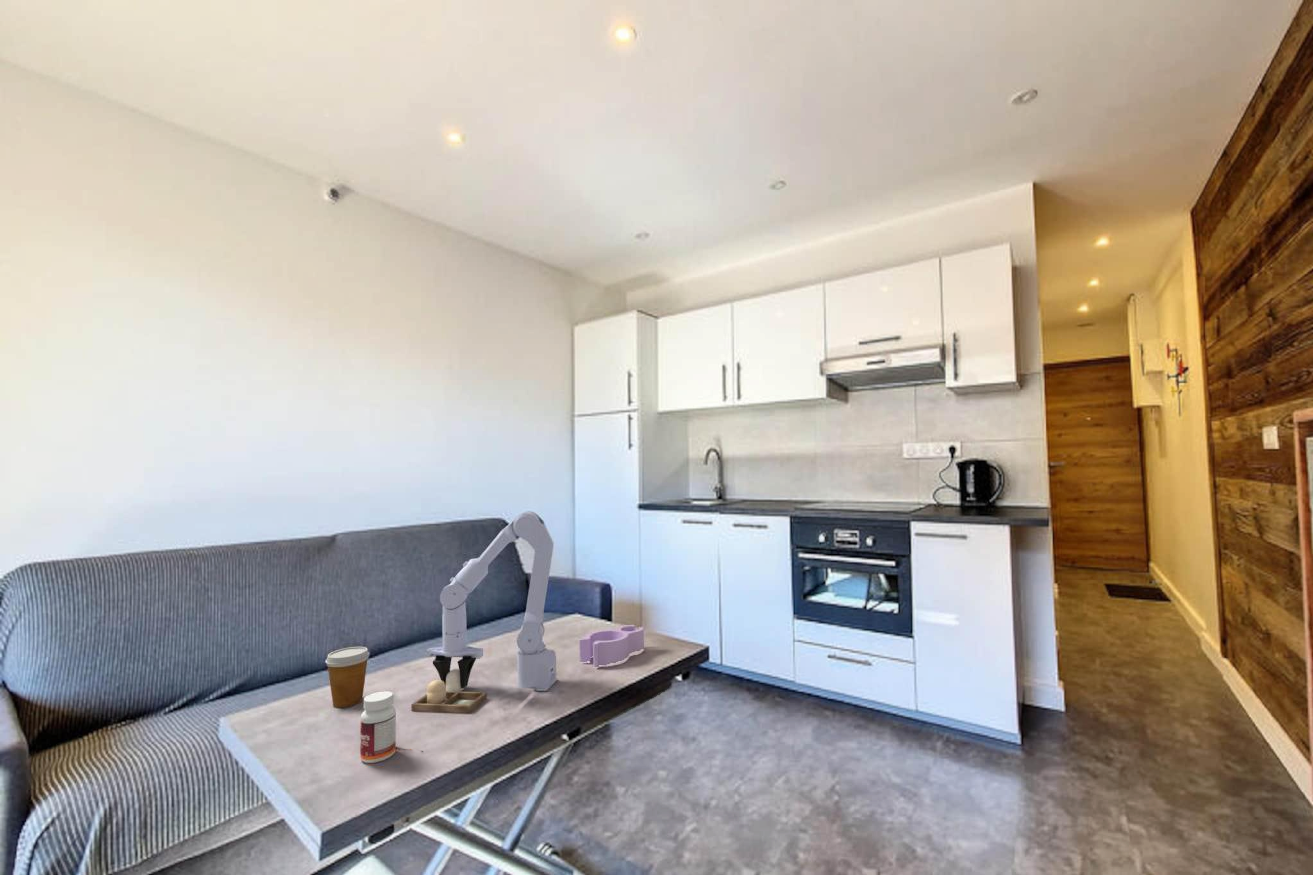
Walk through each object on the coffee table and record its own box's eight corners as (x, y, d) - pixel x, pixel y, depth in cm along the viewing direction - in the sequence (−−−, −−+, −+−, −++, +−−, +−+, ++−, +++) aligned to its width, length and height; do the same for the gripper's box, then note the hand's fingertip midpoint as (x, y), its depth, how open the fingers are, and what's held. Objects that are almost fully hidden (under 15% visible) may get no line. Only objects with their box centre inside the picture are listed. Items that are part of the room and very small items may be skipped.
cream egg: (467, 689, 138) (467, 666, 139) (458, 696, 134) (458, 672, 134) (452, 688, 139) (451, 666, 139) (442, 695, 135) (442, 672, 135)
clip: (626, 645, 170) (625, 622, 170) (653, 653, 161) (652, 629, 162) (573, 662, 156) (573, 637, 156) (600, 672, 147) (600, 646, 148)
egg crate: (487, 701, 130) (486, 692, 130) (469, 716, 122) (469, 706, 122) (431, 699, 132) (431, 690, 132) (411, 714, 124) (411, 704, 124)
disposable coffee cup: (378, 697, 135) (378, 648, 136) (342, 713, 127) (342, 660, 127) (352, 692, 139) (352, 644, 140) (316, 707, 131) (316, 656, 131)
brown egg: (449, 700, 129) (449, 677, 130) (439, 708, 125) (439, 683, 126) (433, 700, 130) (433, 676, 130) (423, 707, 126) (423, 683, 126)
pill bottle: (355, 757, 105) (355, 697, 106) (387, 744, 110) (387, 687, 111) (368, 767, 101) (368, 705, 102) (401, 754, 106) (401, 694, 107)
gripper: (488, 627, 140) (489, 681, 139) (437, 626, 143) (438, 679, 142) (474, 635, 133) (475, 692, 132) (421, 634, 136) (421, 690, 135)
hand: (455, 686), depth 137 cm, fingers closed on cream egg, 4 cm apart
